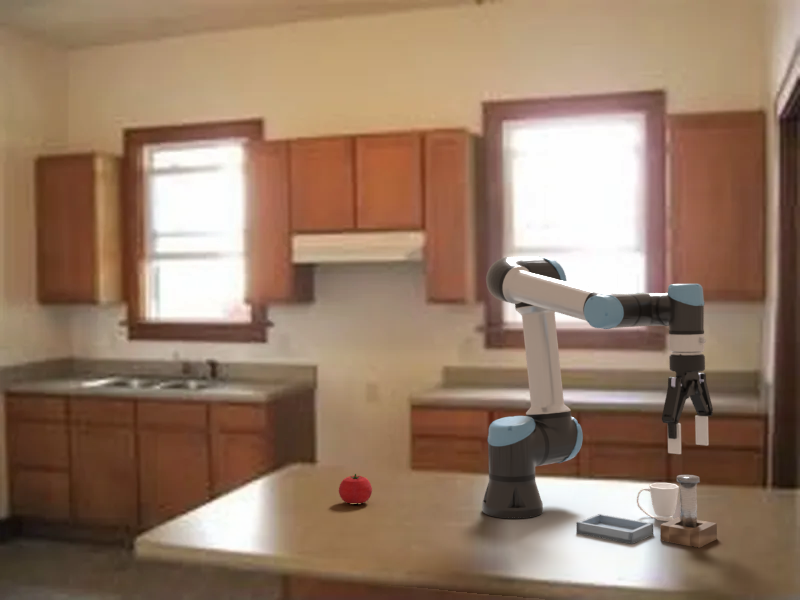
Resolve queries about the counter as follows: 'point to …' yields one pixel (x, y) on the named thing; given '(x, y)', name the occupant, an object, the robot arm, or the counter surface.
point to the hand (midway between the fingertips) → (688, 449)
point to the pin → (688, 500)
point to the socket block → (688, 533)
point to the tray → (615, 528)
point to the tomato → (355, 489)
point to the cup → (662, 500)
